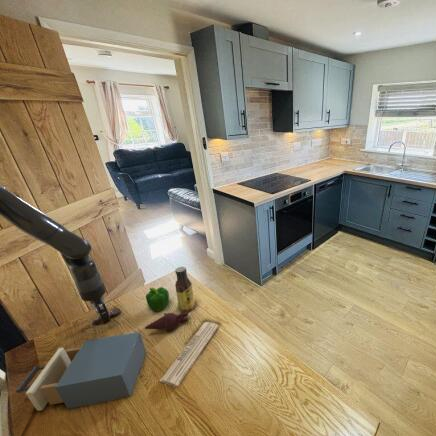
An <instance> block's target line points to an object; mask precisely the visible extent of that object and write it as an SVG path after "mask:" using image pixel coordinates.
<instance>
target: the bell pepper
mask: <svg viewBox="0 0 436 436" xmlns="http://www.w3.org/2000/svg"><path fill="white" fill-rule="evenodd" d="M145 300H146V304H147V305H148V307H149V308H150V309H151V310H152V311H154V312H161V311H163V310H164V309H166V308H167V306H168V304H169V302H170V292H169V291H168V289H166V288H165V287H162V286H161V287H158V288H155V287H149V291H148V293H146V295H145Z"/></svg>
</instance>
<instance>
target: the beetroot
mask: <svg viewBox="0 0 436 436" xmlns="http://www.w3.org/2000/svg"><path fill="white" fill-rule="evenodd" d="M188 315H189V312H182V311H181V312H180V313H179V314H176V313H175V312H167V313H166V312H165V313H164V314H163V316H161V317H160V318H157V319H156V320H154V321H153V322H151V323H149V324H147V325H146V326H145V327H144V330H158V331H159V330H160V331H165V332H166V333H168V331H169V332H170V331H173V330H175V328H177V326H179V325H180V324H184V323H187V322H189V318H188Z"/></svg>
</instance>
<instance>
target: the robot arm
mask: <svg viewBox="0 0 436 436" xmlns="http://www.w3.org/2000/svg"><path fill="white" fill-rule="evenodd" d="M0 217H2V218H3V219H4V220H6V221H7V222H8V223H10V224H11V225H12V226H14V227H15V228H17V229H18V230H20V231H21V232H23V233H24V234H26V235H28V236H30V237H31V238H33V239H35V240H37V241H38V242H41V243H42V244H46V245H48V246H50V247H51V248H52V249H54V250H56V251H57V252H59V253H60V255H61V256H62V258H63V260H64V262H65V263H66V265H67V266H68V268H69V270H70V274H71V276H72V278H73V280H74V285H75V287H76V290H77V292H78V294H79V297H80V298H81V301H84V302H89V303H90V305H91V307H93V309H94V312H95V313H96V314H98V315H99V316H98V317H100V318H101V319H102V322H101V323H102V324H103V325H106V324H108V323H110V322H111V318H109V313H108V312H109V311H108V306H107V305H106V302H105V298H104V297H103V296H104V295H105V294H106V292H107V289H106V285H105V283H104V281H103V277H102V275H101V273H100V272H99V269H98V267H97V264H96V262H95V260H93V258H92V257H91V256H90V254H91V253H92V248H93V247H92V245H91V243H90V242H89V241H88V240H86V239H84V238H82V237H81V236H80V235H78V234H76V233H74V232H72V231H70V230H69V229H68V228H67V227H65V226H63V224H61V223H60V222H58V221H56V220H55V219H53V218H51V217H50V216H49V215H47V214H45V213H44V212H42V211H40V210H39V209H37V208H35V207H34V206H32V205H31V204H29V203H28V202H26V201H24V200H23V199H22V198H19V197H18V196H17V195H16V194H14V192H12V191H10V190H8V189H7V188H6V187H5V186H4V185H2V184H1V183H0Z"/></svg>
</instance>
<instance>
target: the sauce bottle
mask: <svg viewBox="0 0 436 436" xmlns="http://www.w3.org/2000/svg"><path fill="white" fill-rule="evenodd" d="M187 271H188V270H187V268H186V266H178V267H176V268H175V270H174V272H175V274H176V281H175V285H174V286H175V292H176V297H177V303H178V308H179V310H180V312H181V313H182V312H187V313H189V312H191V311H193V310H194V308H195V307H196V305H195V303H196V301H195V295H194V290H193V283H192V282H191V280H190V279H189V277H188V275H187Z"/></svg>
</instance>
